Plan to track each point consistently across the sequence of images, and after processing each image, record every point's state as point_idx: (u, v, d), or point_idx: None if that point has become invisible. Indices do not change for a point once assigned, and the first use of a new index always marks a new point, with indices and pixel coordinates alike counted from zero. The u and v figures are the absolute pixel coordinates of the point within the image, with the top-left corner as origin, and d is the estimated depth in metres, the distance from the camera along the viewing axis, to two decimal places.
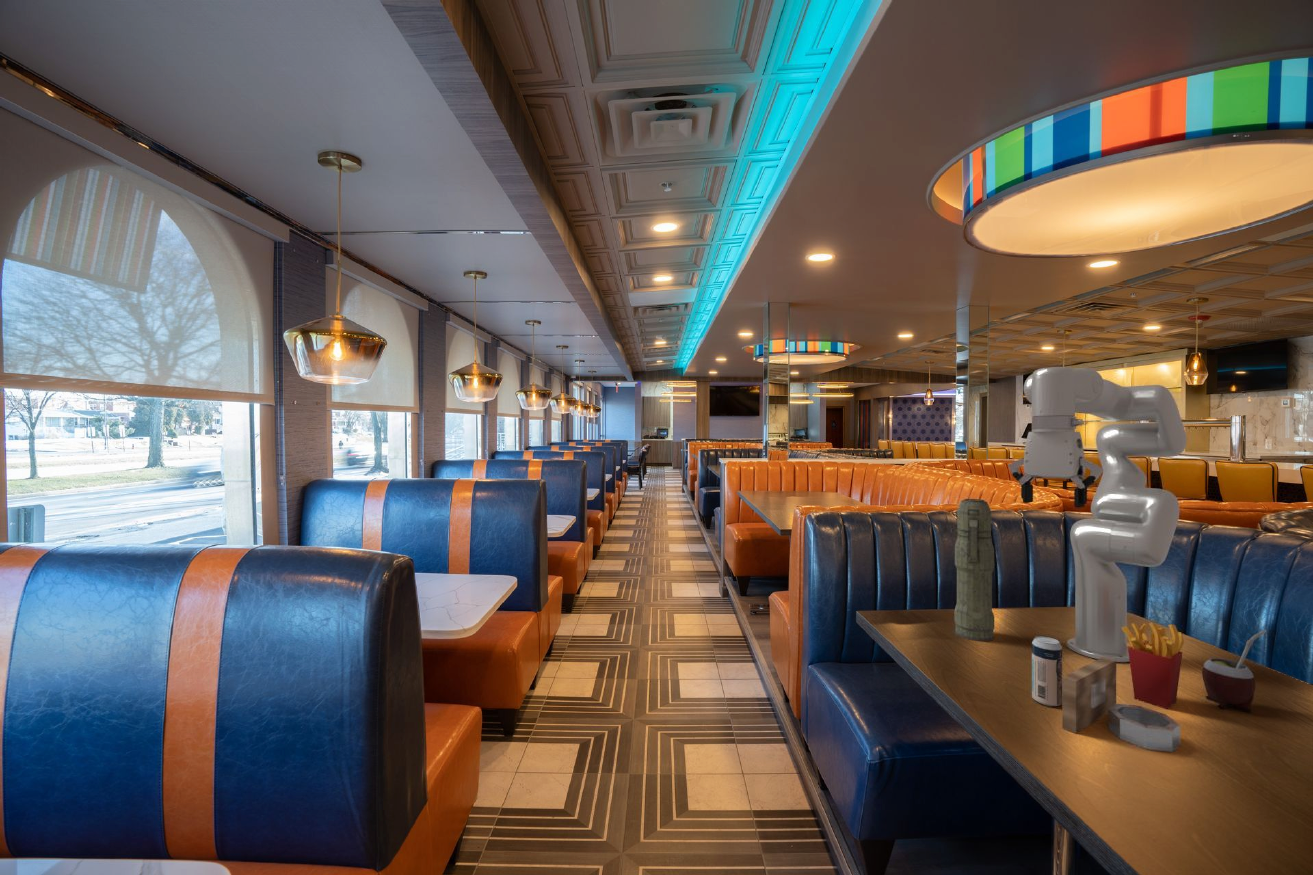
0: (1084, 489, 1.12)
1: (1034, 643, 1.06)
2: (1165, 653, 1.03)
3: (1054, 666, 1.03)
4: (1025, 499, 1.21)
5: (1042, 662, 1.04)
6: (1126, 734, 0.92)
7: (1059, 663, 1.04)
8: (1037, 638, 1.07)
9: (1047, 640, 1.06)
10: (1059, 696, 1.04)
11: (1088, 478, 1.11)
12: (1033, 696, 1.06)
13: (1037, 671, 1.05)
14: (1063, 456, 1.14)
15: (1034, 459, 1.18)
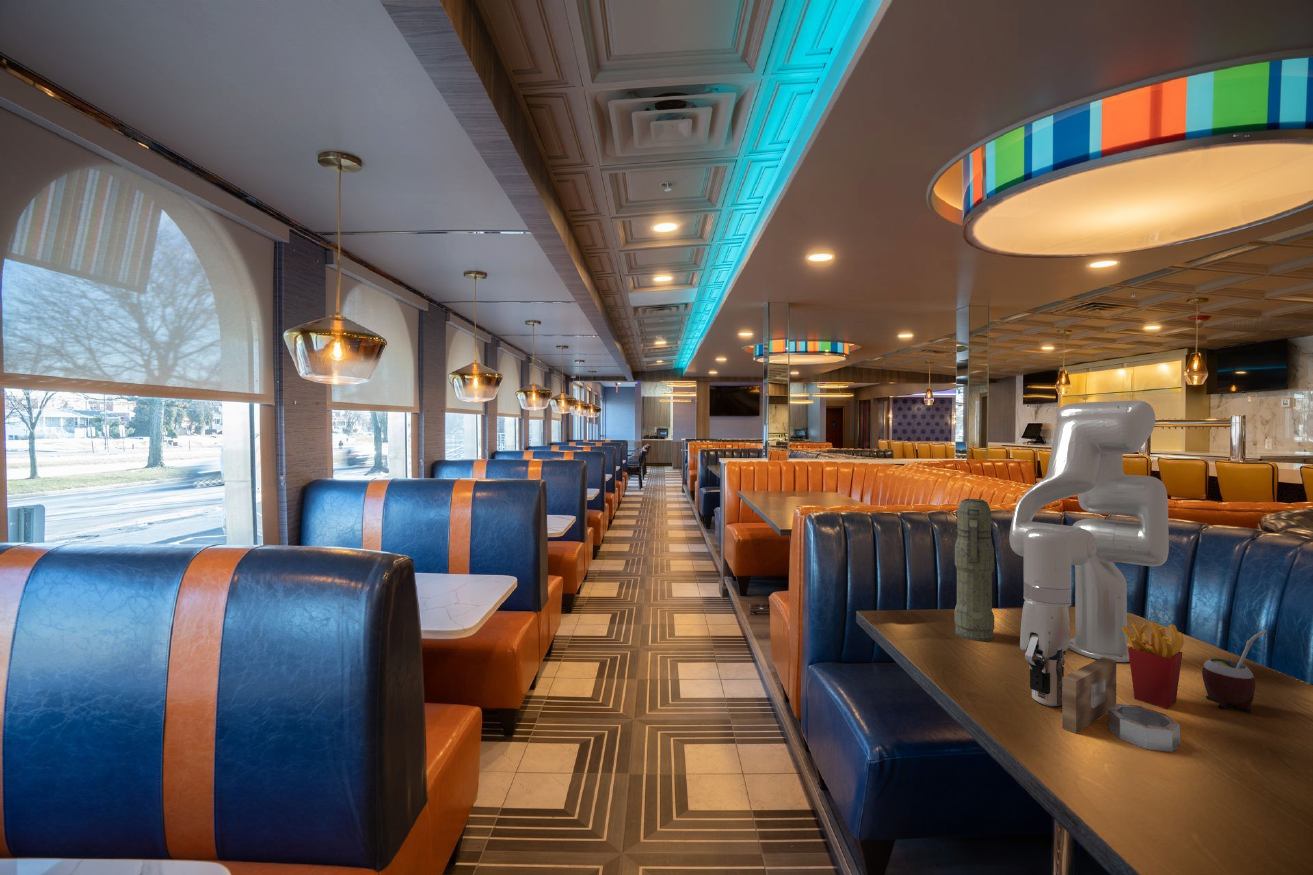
0: None
1: None
2: (1165, 653, 1.03)
3: (1054, 666, 1.03)
4: (1049, 690, 1.03)
5: None
6: (1126, 734, 0.92)
7: (1059, 663, 1.04)
8: None
9: None
10: (1059, 696, 1.04)
11: (1063, 652, 1.07)
12: (1033, 696, 1.06)
13: None
14: (1067, 628, 1.05)
15: (1054, 637, 1.02)
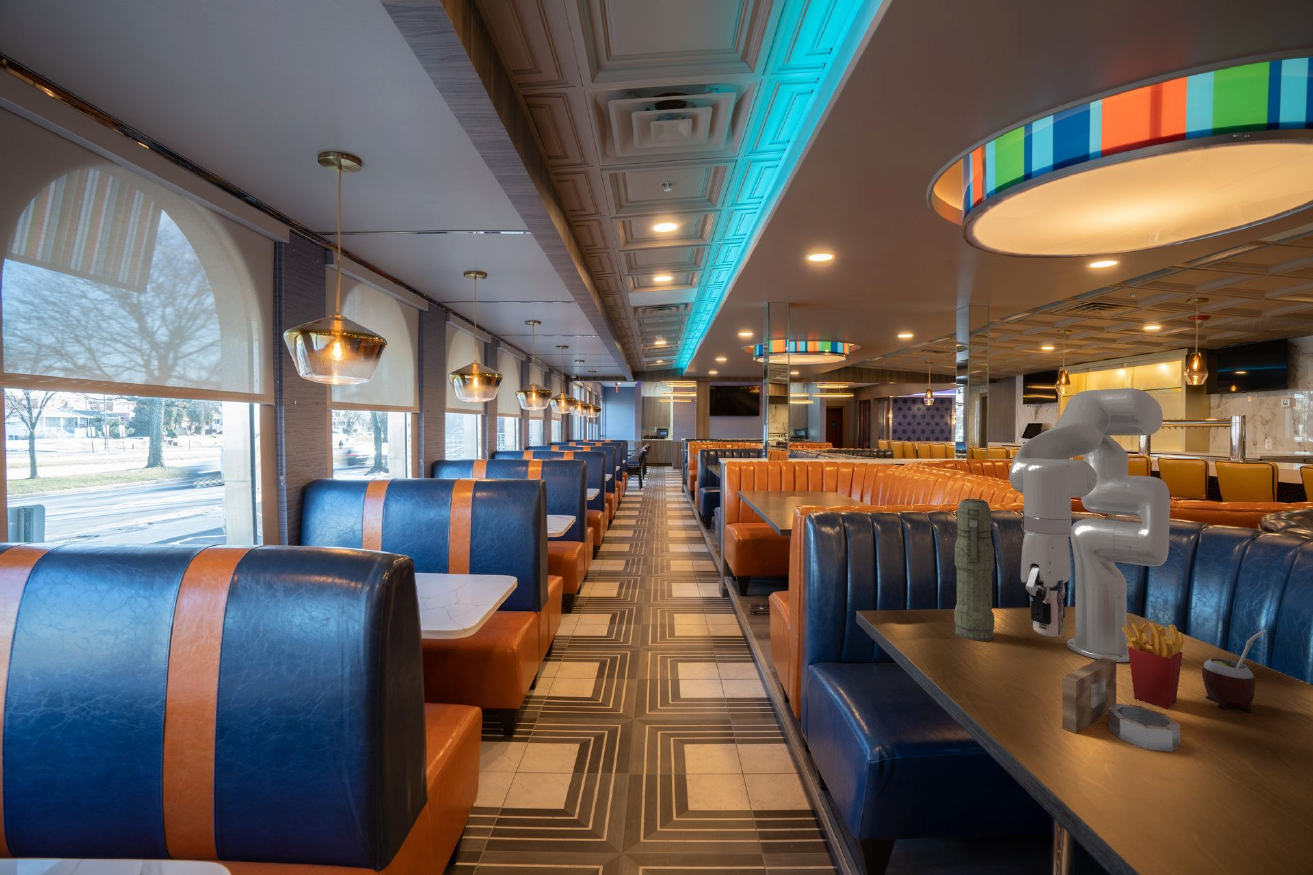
0: None
1: None
2: (1165, 653, 1.03)
3: (1055, 596, 1.04)
4: (1050, 620, 1.03)
5: None
6: (1126, 734, 0.92)
7: (1060, 594, 1.04)
8: None
9: None
10: (1060, 626, 1.04)
11: (1063, 585, 1.08)
12: (1034, 628, 1.07)
13: None
14: (1068, 560, 1.05)
15: (1055, 567, 1.03)
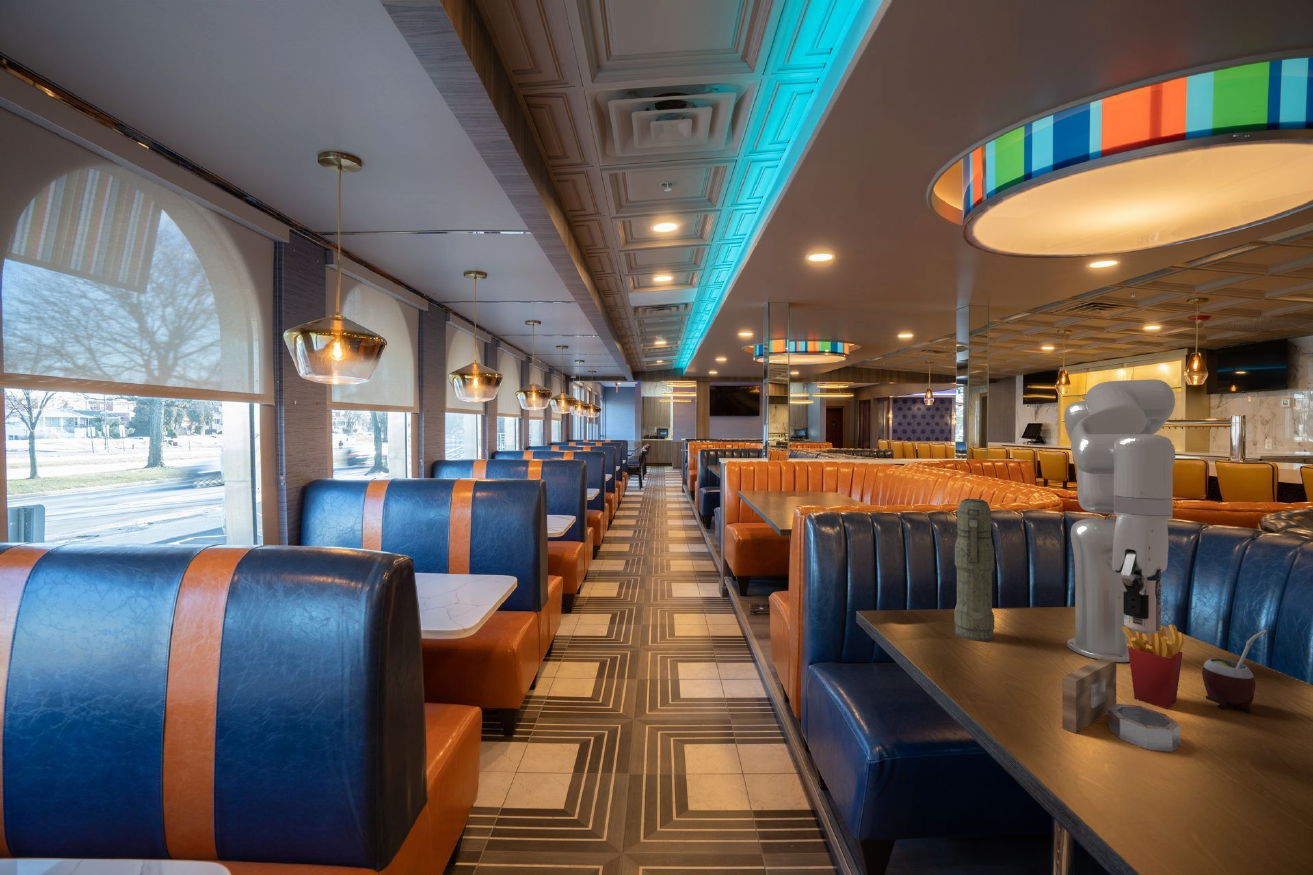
0: None
1: None
2: (1165, 653, 1.03)
3: (1153, 587, 0.91)
4: (1148, 614, 0.91)
5: (1139, 583, 0.92)
6: (1126, 734, 0.92)
7: (1158, 584, 0.91)
8: None
9: None
10: (1158, 621, 0.91)
11: None
12: (1126, 624, 0.94)
13: None
14: (1166, 546, 0.93)
15: (1154, 554, 0.90)
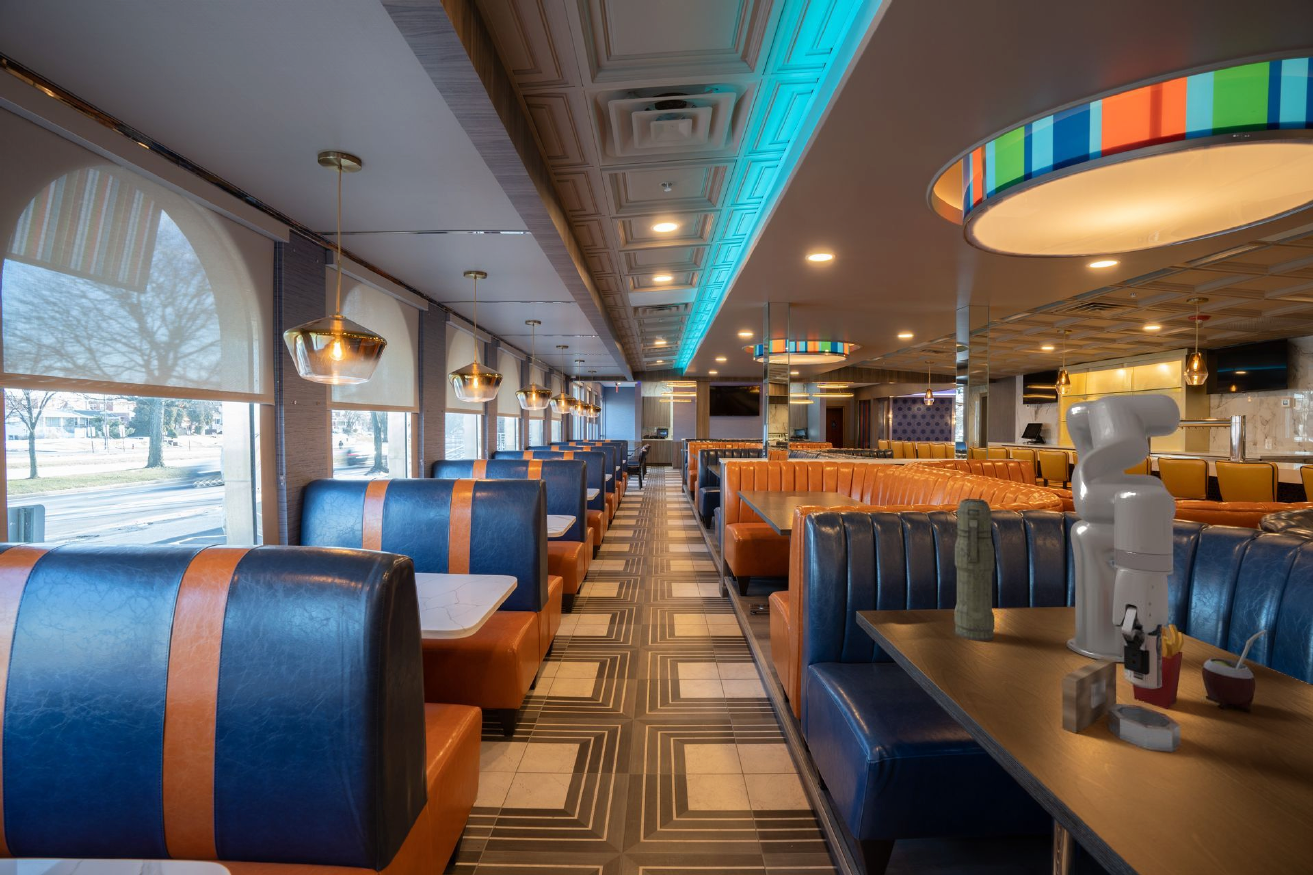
0: None
1: None
2: (1165, 653, 1.03)
3: (1154, 642, 0.91)
4: (1149, 669, 0.91)
5: (1140, 638, 0.92)
6: (1126, 734, 0.92)
7: (1159, 639, 0.91)
8: None
9: None
10: (1159, 677, 0.91)
11: None
12: (1127, 677, 0.94)
13: None
14: (1166, 600, 0.93)
15: (1155, 609, 0.90)
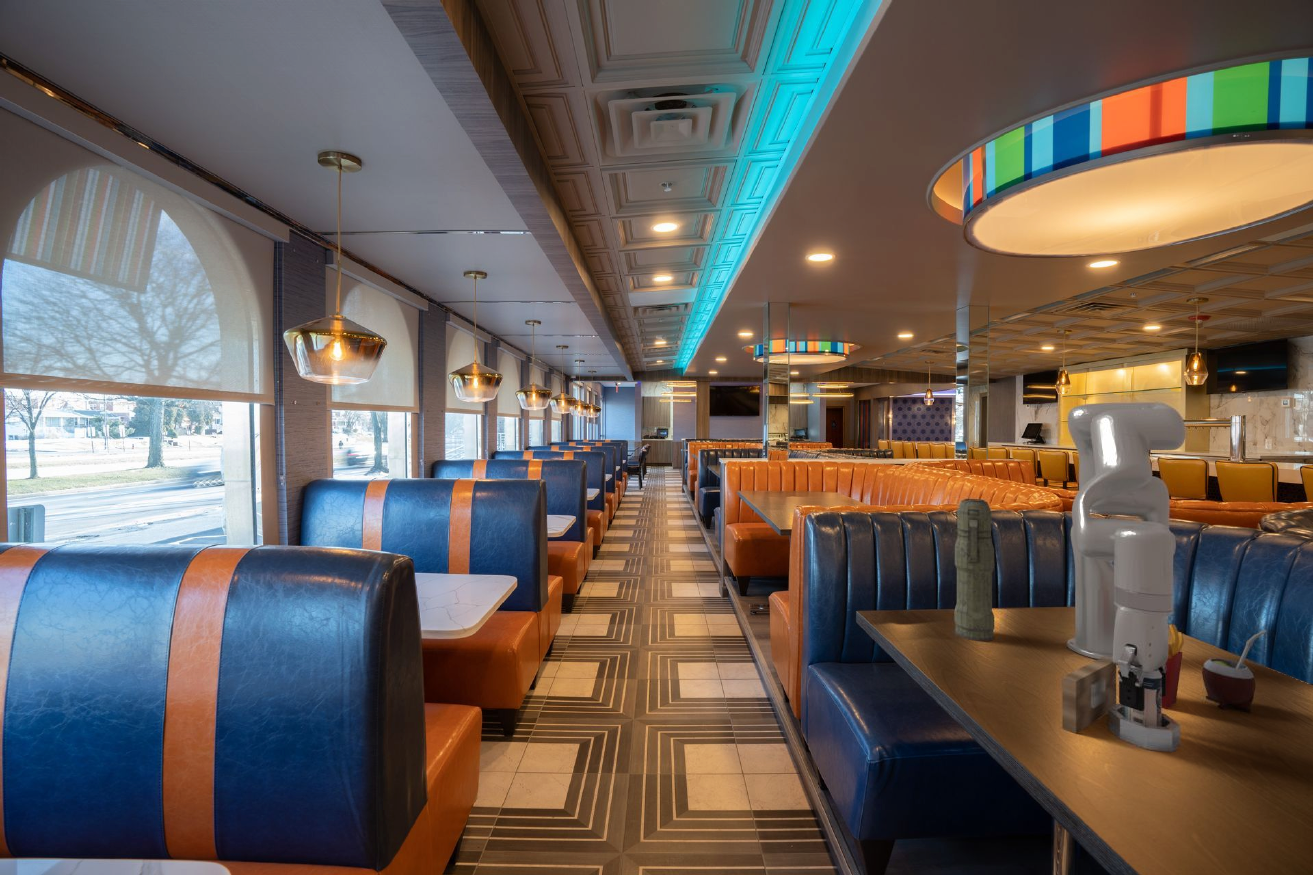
0: None
1: None
2: None
3: (1153, 696, 0.91)
4: (1144, 706, 0.90)
5: None
6: (1126, 734, 0.92)
7: (1159, 693, 0.91)
8: (1131, 664, 0.95)
9: None
10: None
11: None
12: None
13: None
14: (1166, 639, 0.93)
15: (1155, 650, 0.90)
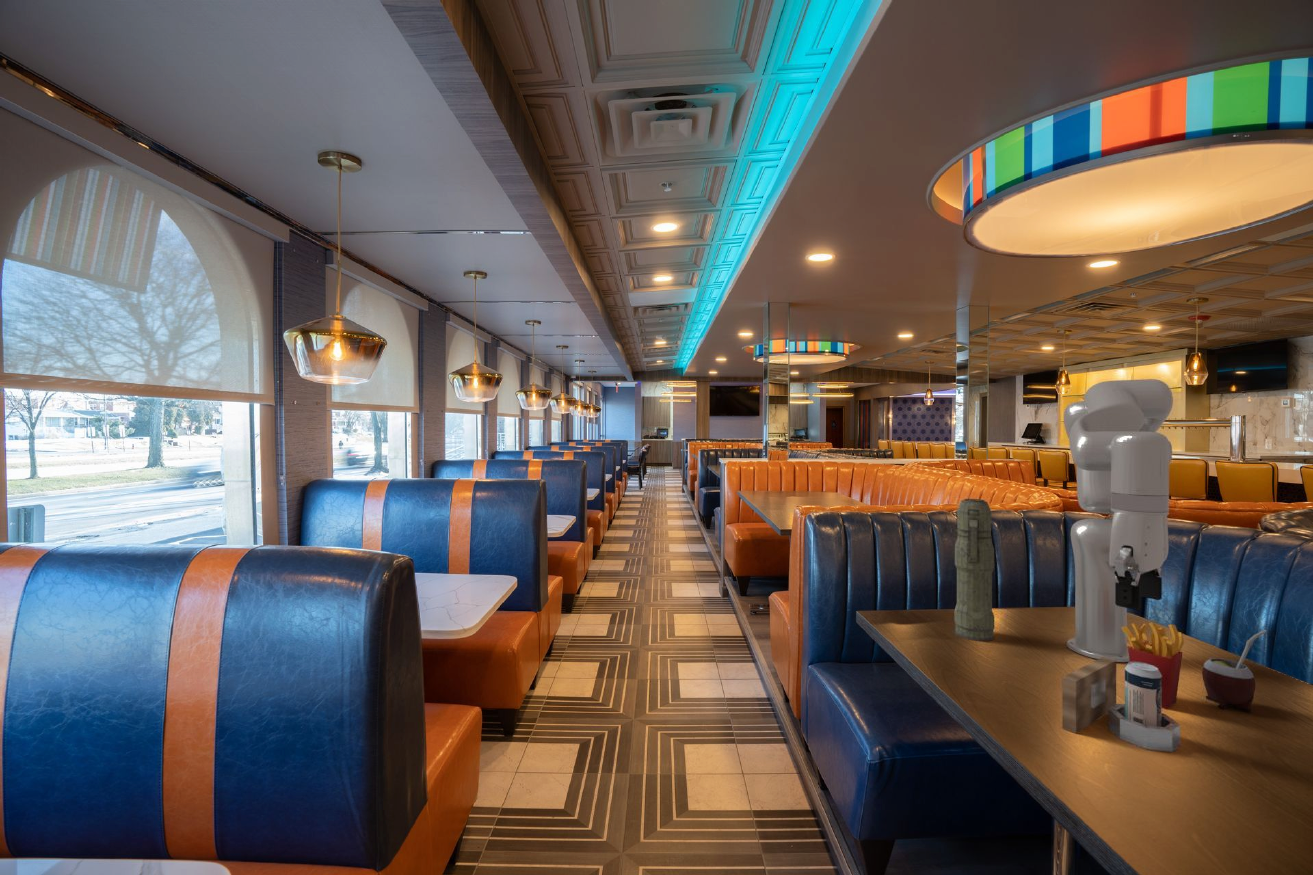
0: None
1: (1128, 670, 0.94)
2: (1165, 653, 1.03)
3: (1153, 696, 0.91)
4: (1139, 605, 0.91)
5: (1140, 691, 0.92)
6: (1126, 734, 0.92)
7: (1159, 693, 0.91)
8: (1131, 664, 0.95)
9: (1143, 666, 0.94)
10: None
11: None
12: None
13: (1132, 701, 0.93)
14: (1162, 542, 0.94)
15: (1151, 550, 0.91)
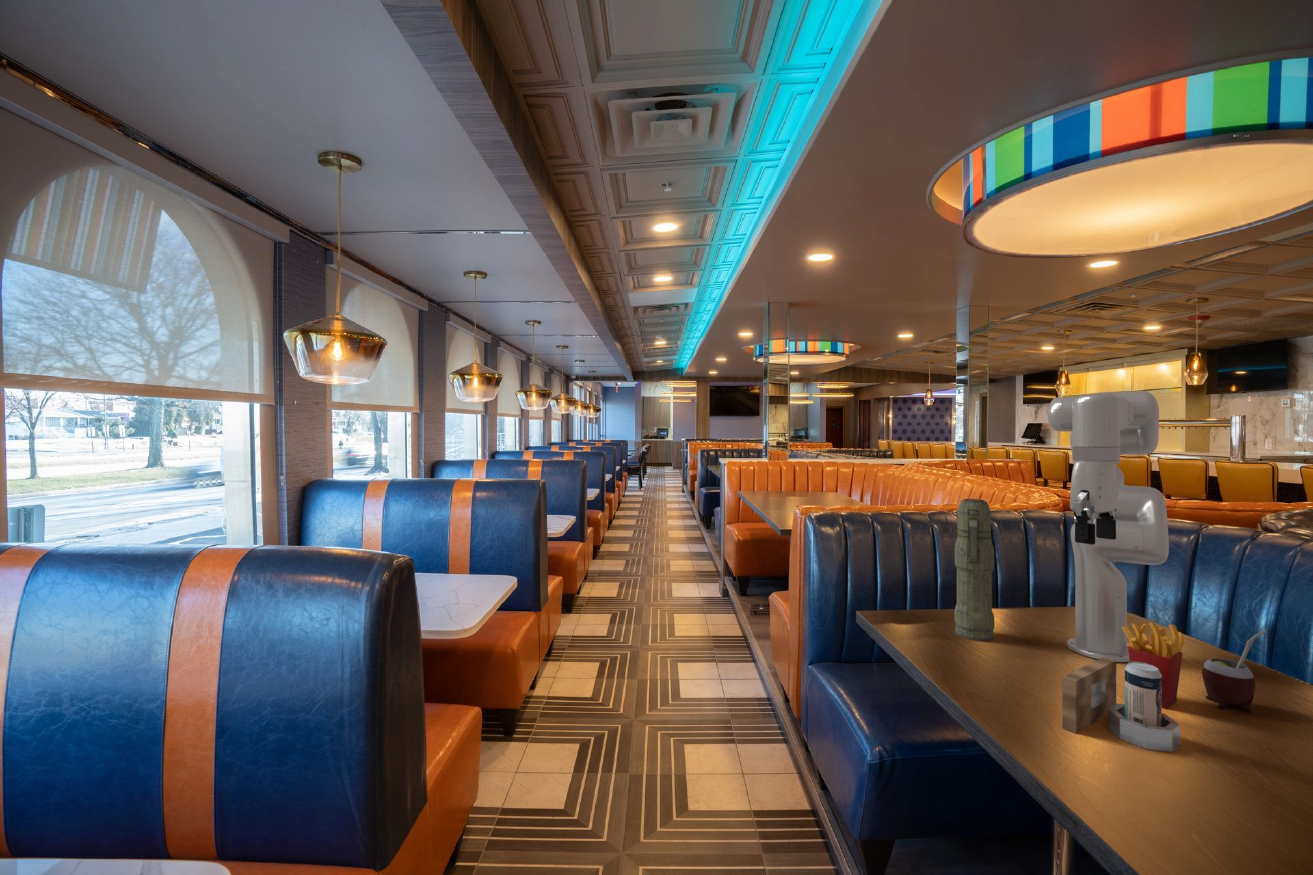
0: None
1: (1128, 670, 0.94)
2: (1165, 653, 1.03)
3: (1153, 696, 0.91)
4: (1094, 540, 1.07)
5: (1140, 692, 0.92)
6: (1126, 734, 0.92)
7: (1159, 693, 0.91)
8: (1131, 664, 0.95)
9: (1143, 666, 0.94)
10: None
11: (1114, 508, 1.13)
12: None
13: (1132, 701, 0.93)
14: (1115, 489, 1.10)
15: (1104, 493, 1.07)
